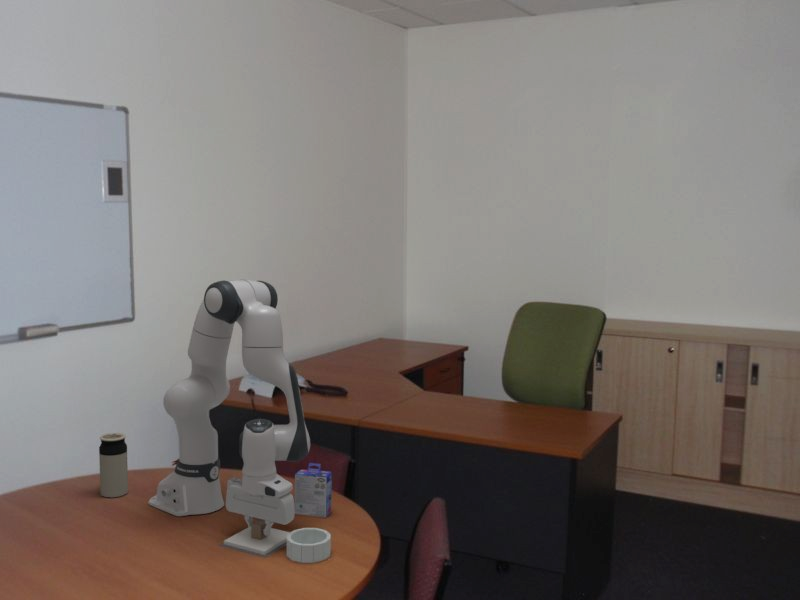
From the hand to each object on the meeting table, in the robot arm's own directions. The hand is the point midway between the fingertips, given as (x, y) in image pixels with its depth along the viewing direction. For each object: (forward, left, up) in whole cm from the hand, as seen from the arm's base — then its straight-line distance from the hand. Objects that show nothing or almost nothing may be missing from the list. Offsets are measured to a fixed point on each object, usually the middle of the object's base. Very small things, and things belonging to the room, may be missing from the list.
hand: (259, 533), depth 218 cm
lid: (0, 0, -2) cm, 2 cm away
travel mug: (-60, +7, -3) cm, 60 cm away
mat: (0, 0, -3) cm, 3 cm away
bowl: (+16, 0, -3) cm, 16 cm away
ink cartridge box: (+1, +24, -3) cm, 24 cm away
